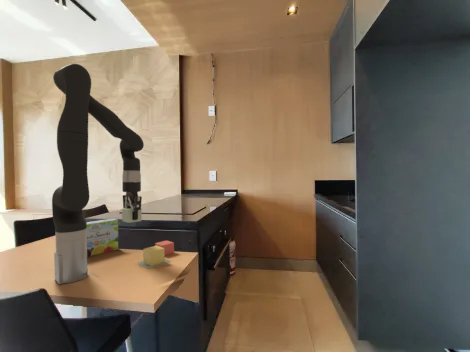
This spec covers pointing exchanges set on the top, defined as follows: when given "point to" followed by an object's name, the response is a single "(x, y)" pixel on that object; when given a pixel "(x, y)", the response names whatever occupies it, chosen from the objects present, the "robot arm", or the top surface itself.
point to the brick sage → (130, 215)
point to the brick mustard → (153, 255)
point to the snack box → (102, 236)
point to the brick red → (166, 246)
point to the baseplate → (153, 265)
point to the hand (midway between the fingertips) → (131, 218)
